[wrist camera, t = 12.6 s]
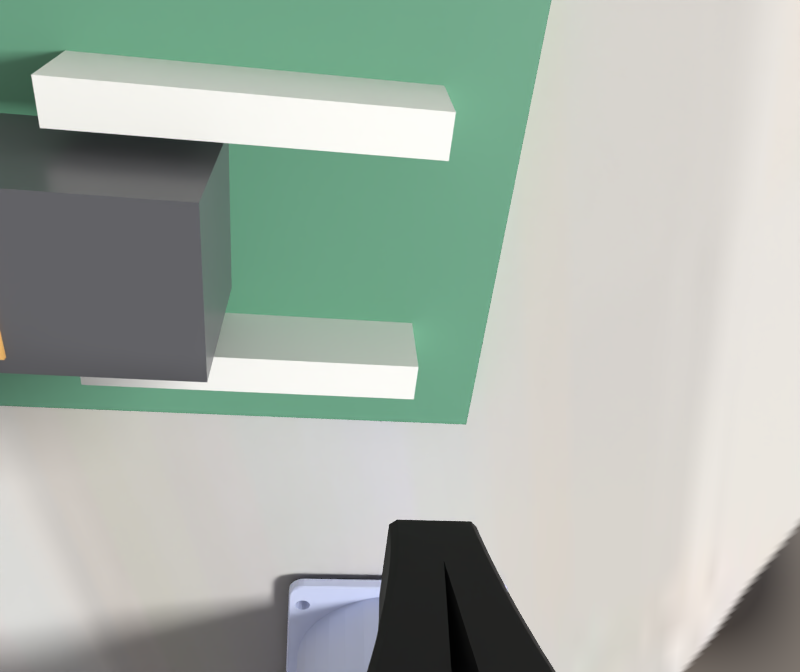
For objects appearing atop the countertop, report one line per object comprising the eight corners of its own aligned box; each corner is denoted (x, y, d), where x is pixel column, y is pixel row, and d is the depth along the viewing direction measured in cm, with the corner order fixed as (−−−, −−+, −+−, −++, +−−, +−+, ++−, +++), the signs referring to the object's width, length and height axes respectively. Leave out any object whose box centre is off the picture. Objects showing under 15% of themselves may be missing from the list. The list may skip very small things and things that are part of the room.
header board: (461, 403, 22) (485, 514, 19) (-23, 382, 21) (-103, 498, 17) (544, -31, 16) (607, 4, 12) (-150, -109, 14) (-325, -96, 11)
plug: (231, 287, 19) (206, 385, 15) (24, 274, 18) (-51, 373, 15) (228, 131, 16) (197, 205, 13) (-8, 112, 16) (-104, 183, 12)
